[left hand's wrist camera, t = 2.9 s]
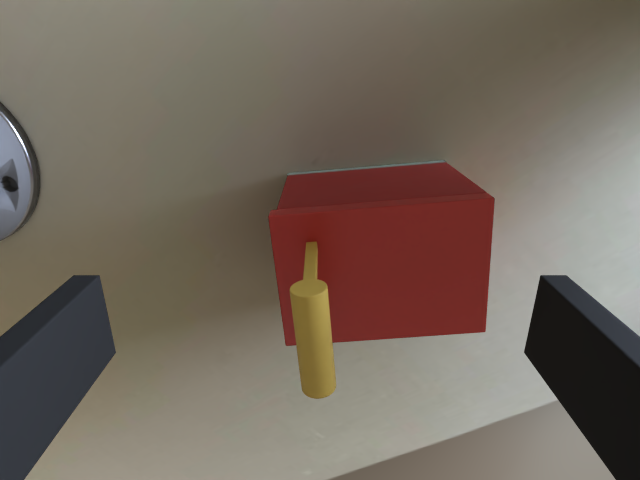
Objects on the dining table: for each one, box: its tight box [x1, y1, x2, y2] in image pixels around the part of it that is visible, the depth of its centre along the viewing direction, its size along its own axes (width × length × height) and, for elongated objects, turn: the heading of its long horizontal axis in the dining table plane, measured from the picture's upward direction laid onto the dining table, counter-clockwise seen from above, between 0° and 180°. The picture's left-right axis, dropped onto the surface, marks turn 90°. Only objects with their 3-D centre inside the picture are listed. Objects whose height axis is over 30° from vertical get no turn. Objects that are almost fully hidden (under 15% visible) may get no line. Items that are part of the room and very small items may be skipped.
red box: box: [277, 160, 487, 210], centre depth 34 cm, size 14×10×10 cm
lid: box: [268, 193, 494, 399], centre depth 25 cm, size 14×10×9 cm
